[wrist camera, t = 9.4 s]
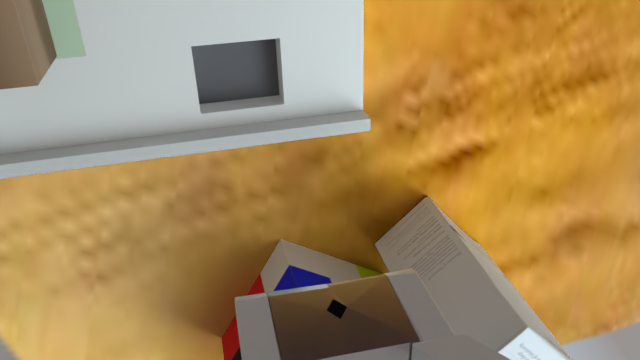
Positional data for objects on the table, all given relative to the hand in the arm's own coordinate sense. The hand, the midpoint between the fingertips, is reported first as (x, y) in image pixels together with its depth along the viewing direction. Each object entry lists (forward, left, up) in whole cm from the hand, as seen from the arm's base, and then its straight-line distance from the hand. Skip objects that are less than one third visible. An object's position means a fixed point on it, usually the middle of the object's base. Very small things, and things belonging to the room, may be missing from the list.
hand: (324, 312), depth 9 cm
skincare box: (-14, +20, -27) cm, 36 cm away
